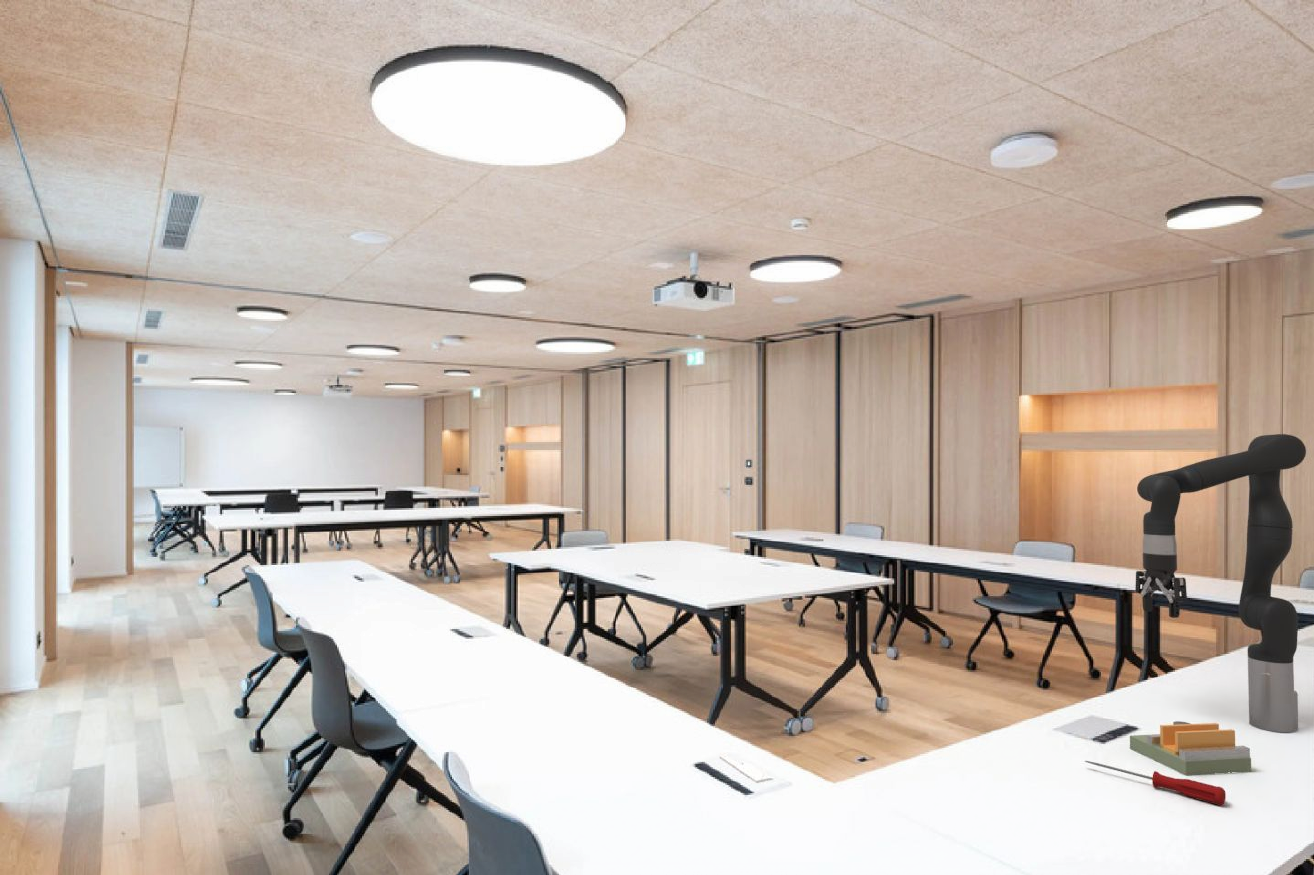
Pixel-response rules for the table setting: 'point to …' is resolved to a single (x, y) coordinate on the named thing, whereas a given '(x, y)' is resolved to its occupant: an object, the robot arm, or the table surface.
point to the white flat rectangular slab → (747, 770)
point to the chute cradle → (1205, 751)
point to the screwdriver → (1182, 786)
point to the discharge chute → (1194, 737)
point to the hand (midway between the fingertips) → (1160, 614)
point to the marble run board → (1188, 767)
